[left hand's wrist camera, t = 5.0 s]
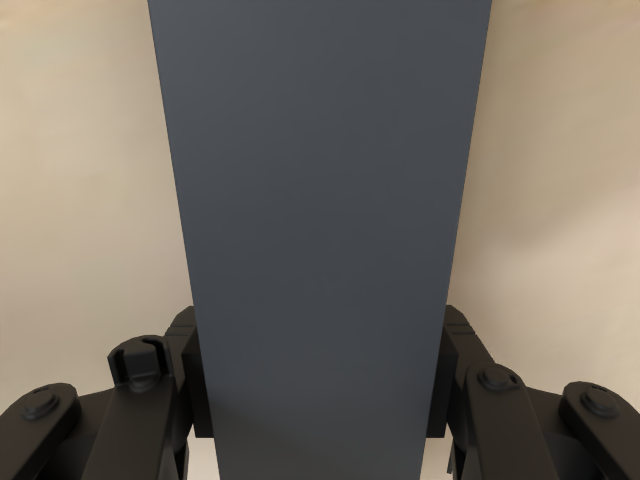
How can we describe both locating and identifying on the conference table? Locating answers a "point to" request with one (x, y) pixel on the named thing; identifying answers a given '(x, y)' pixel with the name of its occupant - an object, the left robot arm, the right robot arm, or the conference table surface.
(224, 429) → the beam
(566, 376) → the conference table surface
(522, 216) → the conference table surface
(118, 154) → the conference table surface
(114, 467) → the left robot arm
